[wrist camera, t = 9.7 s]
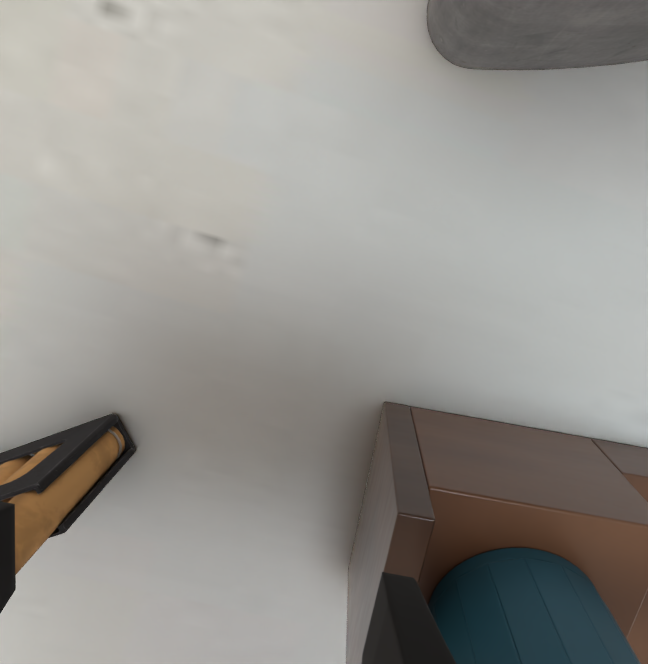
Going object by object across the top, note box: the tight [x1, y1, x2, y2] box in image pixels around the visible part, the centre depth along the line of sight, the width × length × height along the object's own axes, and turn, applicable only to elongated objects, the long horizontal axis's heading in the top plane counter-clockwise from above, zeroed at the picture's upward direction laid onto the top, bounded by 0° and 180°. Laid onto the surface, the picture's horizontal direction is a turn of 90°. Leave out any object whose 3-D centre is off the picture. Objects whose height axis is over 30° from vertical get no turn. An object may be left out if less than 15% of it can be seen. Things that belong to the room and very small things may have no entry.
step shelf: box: [346, 402, 648, 664], centre depth 18 cm, size 8×16×7 cm, turn 81°
